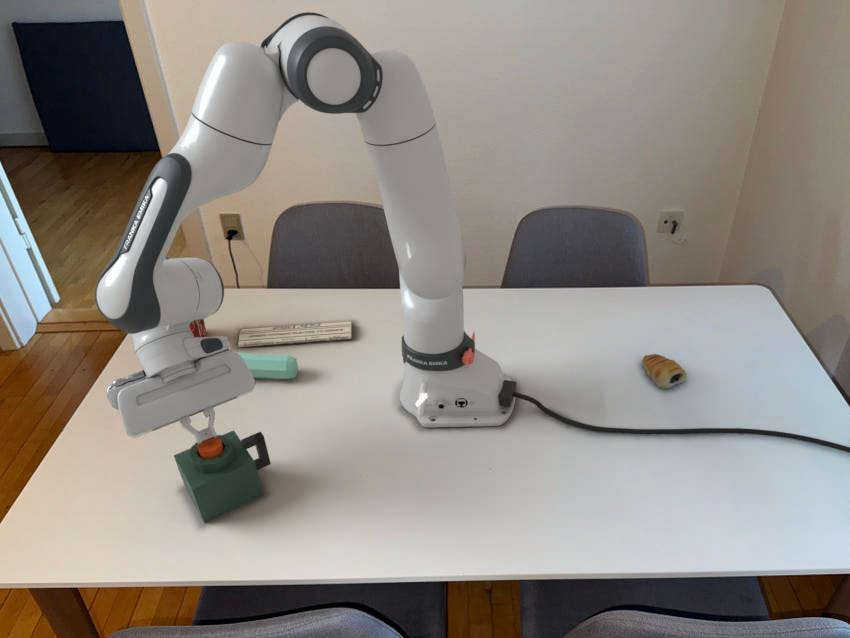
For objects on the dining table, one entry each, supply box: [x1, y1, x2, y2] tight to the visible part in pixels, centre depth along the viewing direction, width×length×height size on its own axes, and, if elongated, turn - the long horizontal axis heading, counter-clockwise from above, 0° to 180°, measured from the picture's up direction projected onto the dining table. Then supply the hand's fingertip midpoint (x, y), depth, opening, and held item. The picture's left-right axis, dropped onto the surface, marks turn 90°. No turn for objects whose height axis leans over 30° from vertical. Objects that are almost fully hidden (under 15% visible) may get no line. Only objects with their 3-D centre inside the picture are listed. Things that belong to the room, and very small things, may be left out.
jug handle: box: [240, 431, 272, 471], centre depth 118 cm, size 3×1×7 cm, turn 126°
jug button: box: [197, 437, 224, 459], centre depth 112 cm, size 4×4×2 cm
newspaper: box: [237, 320, 353, 348], centre depth 153 cm, size 24×7×2 cm, turn 98°
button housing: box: [173, 430, 264, 524], centre depth 115 cm, size 10×9×10 cm
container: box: [237, 352, 299, 380], centre depth 141 cm, size 6×6×25 cm
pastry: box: [641, 353, 687, 390], centre depth 142 cm, size 9×7×4 cm
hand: (207, 440), depth 111 cm, fingers closed, pressing on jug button
